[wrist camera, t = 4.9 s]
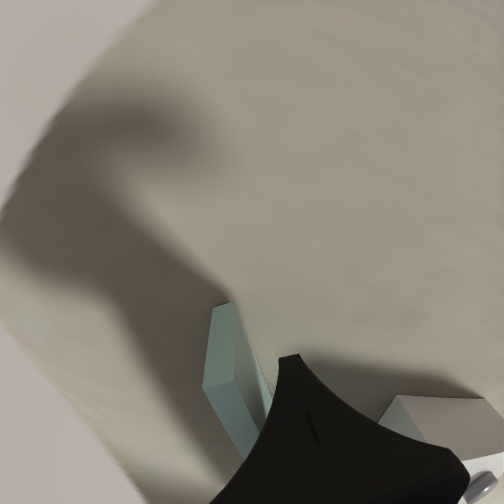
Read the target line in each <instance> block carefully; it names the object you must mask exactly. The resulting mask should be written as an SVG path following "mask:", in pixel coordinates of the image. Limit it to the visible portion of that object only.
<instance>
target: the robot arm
mask: <svg viewBox="0 0 504 504" xmlns="http://www.w3.org/2000/svg"><path fill="white" fill-rule="evenodd" d="M278 362H279V373H278V380H277V385H276V390H275V394H274V398H273V401H272V404H271V407H270V410H269V413H268V416H267V419H266V421H265V424H264V426H263V428H262V430H261V432H260V435H259V437H258V439H257V441H256V442H255V444H254V446H253V448H252V449H251V451H250V453H249V455H248V456H247V458H246V459H245V461H244V462H243V464H242V465H241V467H240V468H239V469H238V471H237V472H236V473H235V475H234V476H233V477H232V479H231V480H230V481H229V483H228V484H227V485H226V486H225V487H224V489H223V490H222V491H221V492H220V493H219V494H218V495H217V496H216V497H215V498H214V499H213V500H212V501H211V502H210V503H209V504H458V502H459V501H460V499H461V497H462V496H463V494H464V493H465V491H466V489H467V487H468V485H469V482H470V480H471V477H470V474H469V472H468V470H467V469H466V467H465V466H464V464H463V463H462V462H461V461H460V460H459V458H458V457H457V456H456V455H455V454H454V453H453V452H452V451H451V450H450V449H449V448H445V447H441V446H437V445H433V444H429V443H425V442H421V441H418V440H415V439H412V438H409V437H406V436H404V435H401V434H399V433H397V432H395V431H393V430H390V429H388V428H386V427H384V426H382V425H380V424H378V423H376V422H374V421H372V420H371V419H369V418H367V417H366V416H364V415H362V414H361V413H359V412H358V411H356V410H355V409H353V408H352V407H351V406H349V405H348V404H347V403H345V402H344V401H343V400H341V399H340V398H339V397H338V396H336V395H335V394H334V393H333V392H332V391H331V390H330V389H329V388H327V387H326V386H325V385H324V384H323V383H322V382H321V381H320V380H319V379H318V378H317V377H316V376H315V375H314V373H313V372H312V371H311V370H310V369H309V368H308V367H307V365H306V364H305V363H304V361H303V360H302V359H301V357H300V355H299V354H295V355H290V356H285V357H281V358H279V361H278Z"/></svg>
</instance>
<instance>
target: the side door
mask: <svg viewBox="0 0 504 504" xmlns="http://www.w3.org/2000/svg"><path fill="white" fill-rule="evenodd" d="M202 389H203V391H204V393H205V395H206V397H207V398H208V400H209V402H210V404H211V406H212V408H213V409H214V411H215V413H216V415H217V416H218V418H219V420H220V422H221V423H222V425H223V427H224V429H225V430H226V432H227V434H228V435H229V437H230V439H231V440H232V442H233V444H234V445H235V447H236V449H237V450H238V452H239V454H240V455H241V457H242V458H243V460H244V461H245V459H246V458H247V456H248V455H249V453H250V451H251V449H252V448H253V446H254V444H255V442H256V441H257V439H258V437H259V435H260V432H261V430H262V428H263V426H264V424H265V421H266V419H267V416H268V413H269V410H270V407H271V404H272V401H273V400H272V398H271V396H270V393H269V391H268V388H267V386H266V383H265V381H264V378H263V376H262V373H261V371H260V368H259V366H258V363H257V361H256V358H255V356H254V353H253V351H252V348H251V346H250V343H249V340H248V338H247V335H246V333H245V330H244V327H243V325H242V322H241V320H240V317H239V314H238V312H237V309H236V307H235V304H234V301H233V302H230V303H227V304H223V305H220V306H217V307H214V308H212V315H211V323H210V330H209V338H208V345H207V353H206V360H205V368H204V376H203V384H202Z"/></svg>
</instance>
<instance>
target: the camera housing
mask: <svg viewBox="0 0 504 504" xmlns="http://www.w3.org/2000/svg"><path fill="white" fill-rule="evenodd" d="M378 424H380V425H382V426H384V427H386V428H388V429H390V430H393V431H395V432H397V433H399V434H401V435H404V436H406V437H409V438H412V439H415V440H418V441H421V442H425V443H429V444H433V445H437V446H441V447H445V448H449V449H450V450H451V451H452V452H453V453H454V454H455V455H456V456H457V457H458V458H459V460H460V461H461V462H462V463H463V464H464V466H465V467H466V469H467V470H468V472H469V474H470V477H471V480H470V482H469V485H468V487H467V489H466V491H465V493H464V494H463V496H462V497H461V499H460V501H459V502H458V504H473V503H475V502H477V501H478V500H480V499H482V498H483V497H484V496H486V495H487V494H488V493H489V492H490V491H491V490H493V488H494V487H495V486H496V485H497V483H498V480H497V478H498V477H499V476H500V475H501V474H502V473H503V472H504V419H503V418H502V417H501V416H500V415H499V413H498V412H497V411H496V410H495V409H494V408H493V407H492V406H491V404H490V403H489V402H488V401H487V400H486V399H472V398H441V397H424V396H410V395H398V394H397V395H396V396H395V398H394V400H393V401H392V403H391V404H390V406H389V407H388V409H387V410H386V412H385V413H384V415H383V416H382V417H381V419H380V420H379V422H378Z"/></svg>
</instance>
